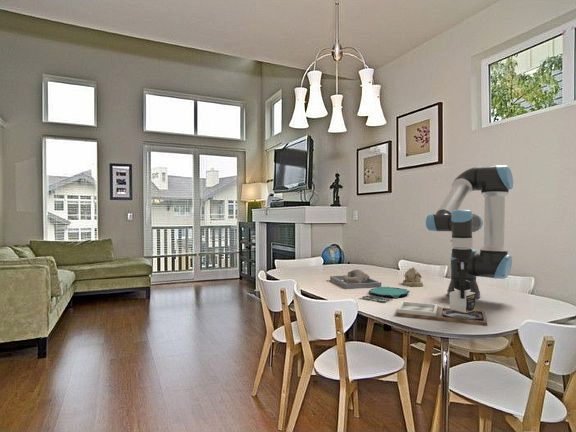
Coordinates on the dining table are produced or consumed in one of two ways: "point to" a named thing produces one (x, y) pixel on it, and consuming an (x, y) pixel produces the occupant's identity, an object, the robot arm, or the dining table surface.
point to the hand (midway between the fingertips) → (462, 303)
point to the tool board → (436, 313)
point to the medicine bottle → (469, 298)
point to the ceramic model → (412, 278)
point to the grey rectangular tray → (358, 285)
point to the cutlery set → (385, 293)
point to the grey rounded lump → (355, 277)
